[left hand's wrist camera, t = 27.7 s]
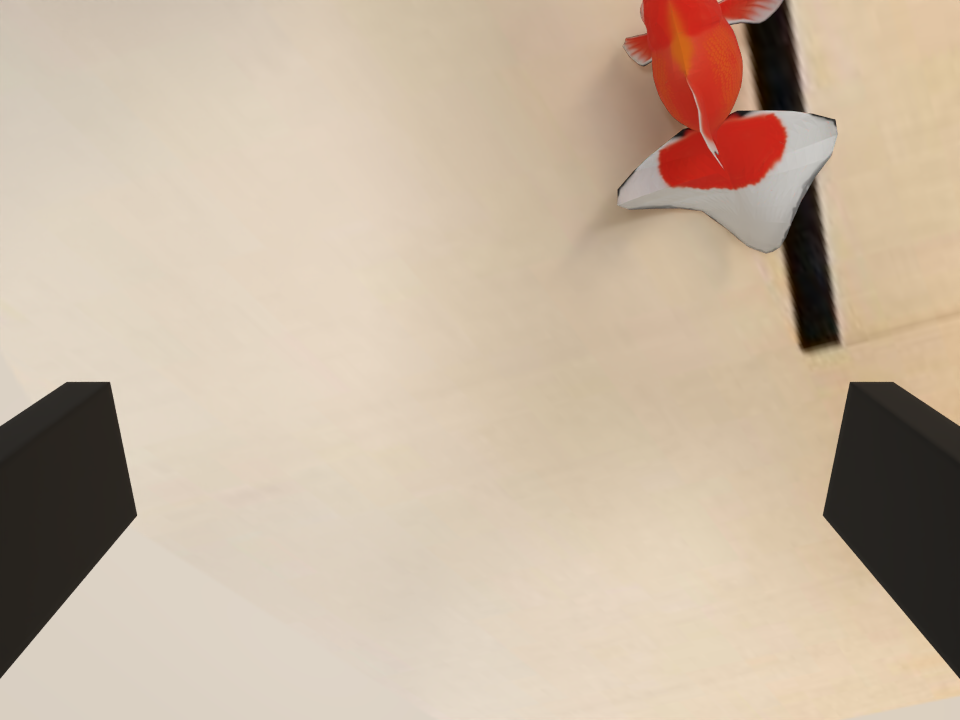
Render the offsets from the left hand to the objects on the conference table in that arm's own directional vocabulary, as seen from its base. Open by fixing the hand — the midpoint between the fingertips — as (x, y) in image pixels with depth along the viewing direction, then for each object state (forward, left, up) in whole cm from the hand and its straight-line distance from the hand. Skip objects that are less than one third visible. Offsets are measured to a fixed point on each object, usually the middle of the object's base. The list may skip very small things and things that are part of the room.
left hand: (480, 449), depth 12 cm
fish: (+10, +9, -30) cm, 33 cm away
